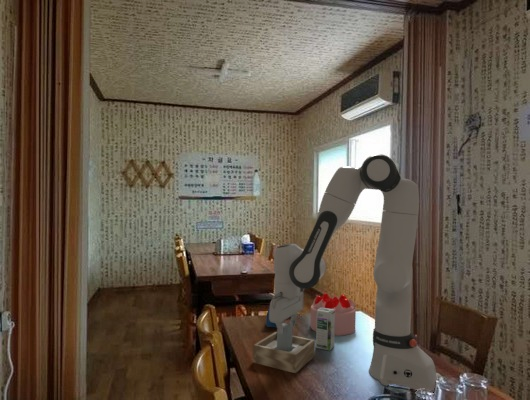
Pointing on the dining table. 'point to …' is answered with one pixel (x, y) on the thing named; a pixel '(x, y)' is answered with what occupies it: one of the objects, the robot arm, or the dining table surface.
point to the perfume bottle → (268, 323)
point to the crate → (283, 353)
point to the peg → (285, 338)
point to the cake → (336, 313)
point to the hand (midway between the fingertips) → (287, 329)
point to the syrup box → (325, 328)
